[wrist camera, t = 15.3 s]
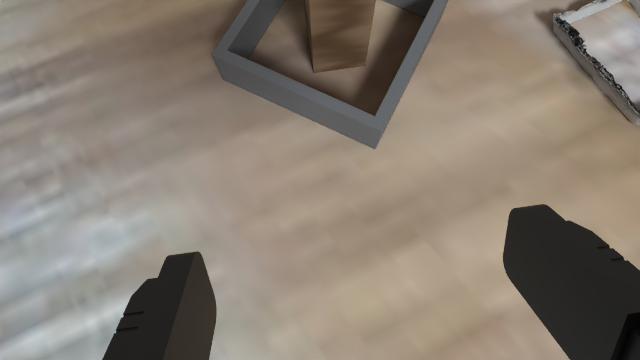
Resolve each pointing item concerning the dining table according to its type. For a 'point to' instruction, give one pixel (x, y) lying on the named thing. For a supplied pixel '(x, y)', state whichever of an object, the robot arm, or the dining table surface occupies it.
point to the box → (305, 99)
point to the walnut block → (338, 32)
